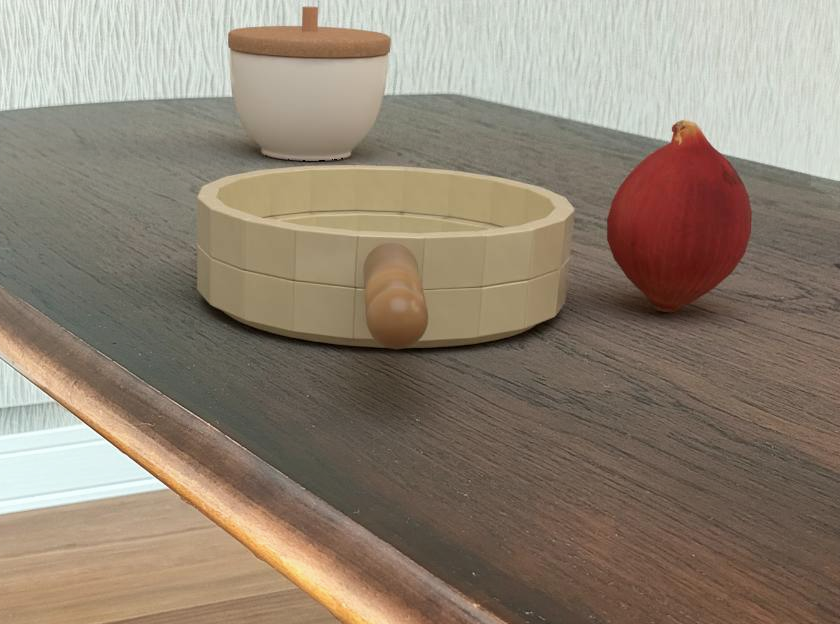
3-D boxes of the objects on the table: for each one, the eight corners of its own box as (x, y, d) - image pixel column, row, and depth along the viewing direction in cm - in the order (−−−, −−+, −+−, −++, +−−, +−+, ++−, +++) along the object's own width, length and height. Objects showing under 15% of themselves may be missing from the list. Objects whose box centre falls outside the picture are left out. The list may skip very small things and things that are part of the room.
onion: (684, 290, 66) (710, 109, 63) (765, 323, 61) (797, 128, 58) (574, 299, 64) (594, 111, 61) (647, 334, 59) (674, 132, 56)
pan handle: (414, 291, 54) (418, 238, 53) (427, 357, 46) (432, 296, 46) (361, 289, 54) (364, 236, 53) (365, 355, 46) (368, 294, 46)
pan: (537, 265, 70) (546, 170, 68) (588, 360, 55) (601, 243, 54) (213, 255, 70) (214, 160, 68) (181, 346, 56) (180, 229, 54)
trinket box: (258, 137, 104) (260, -2, 101) (402, 148, 101) (410, 6, 98) (203, 159, 95) (203, 7, 91) (360, 172, 92) (367, 16, 88)
